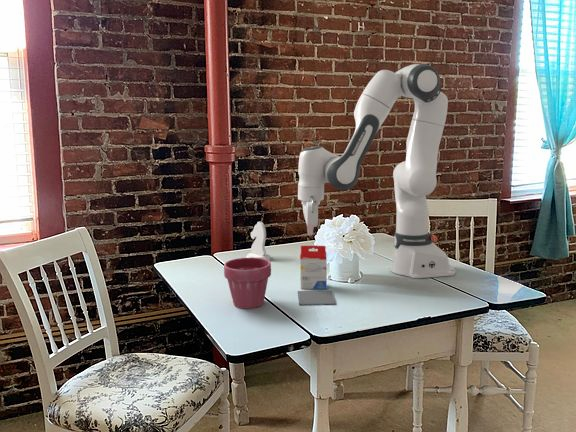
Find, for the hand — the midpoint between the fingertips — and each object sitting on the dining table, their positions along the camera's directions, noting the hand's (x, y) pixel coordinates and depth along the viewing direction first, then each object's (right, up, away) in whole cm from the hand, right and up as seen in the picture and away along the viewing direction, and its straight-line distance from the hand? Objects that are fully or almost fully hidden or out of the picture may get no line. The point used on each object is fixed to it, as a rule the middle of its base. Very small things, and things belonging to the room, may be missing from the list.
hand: (310, 234), depth 196 cm
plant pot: (-20, -21, -22) cm, 36 cm away
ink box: (+1, -17, -8) cm, 19 cm away
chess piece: (-19, -11, +26) cm, 34 cm away
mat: (+1, -19, -18) cm, 27 cm away
